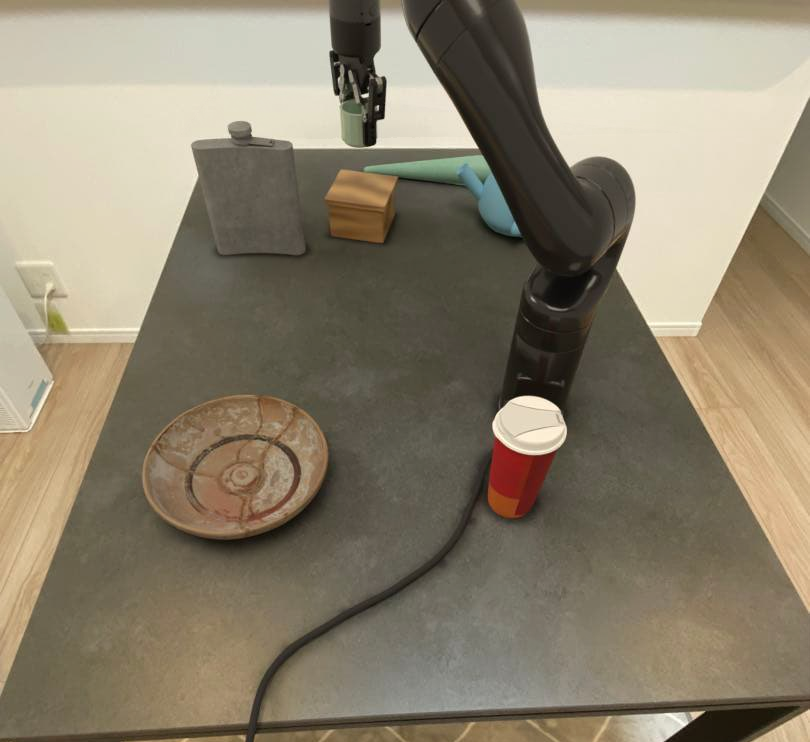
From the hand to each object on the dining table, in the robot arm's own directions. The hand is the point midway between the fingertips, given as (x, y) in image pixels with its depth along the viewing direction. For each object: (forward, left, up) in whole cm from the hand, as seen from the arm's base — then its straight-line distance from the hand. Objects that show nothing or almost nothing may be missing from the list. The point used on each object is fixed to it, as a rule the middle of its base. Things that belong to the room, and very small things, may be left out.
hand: (359, 136), depth 102 cm
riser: (0, 0, -15) cm, 15 cm away
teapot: (+8, -26, -15) cm, 31 cm away
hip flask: (-12, +16, -15) cm, 25 cm away
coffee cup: (-59, -35, -15) cm, 70 cm away
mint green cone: (+20, -9, -15) cm, 27 cm away
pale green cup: (0, 0, -1) cm, 1 cm away
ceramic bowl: (-64, 0, -15) cm, 66 cm away
